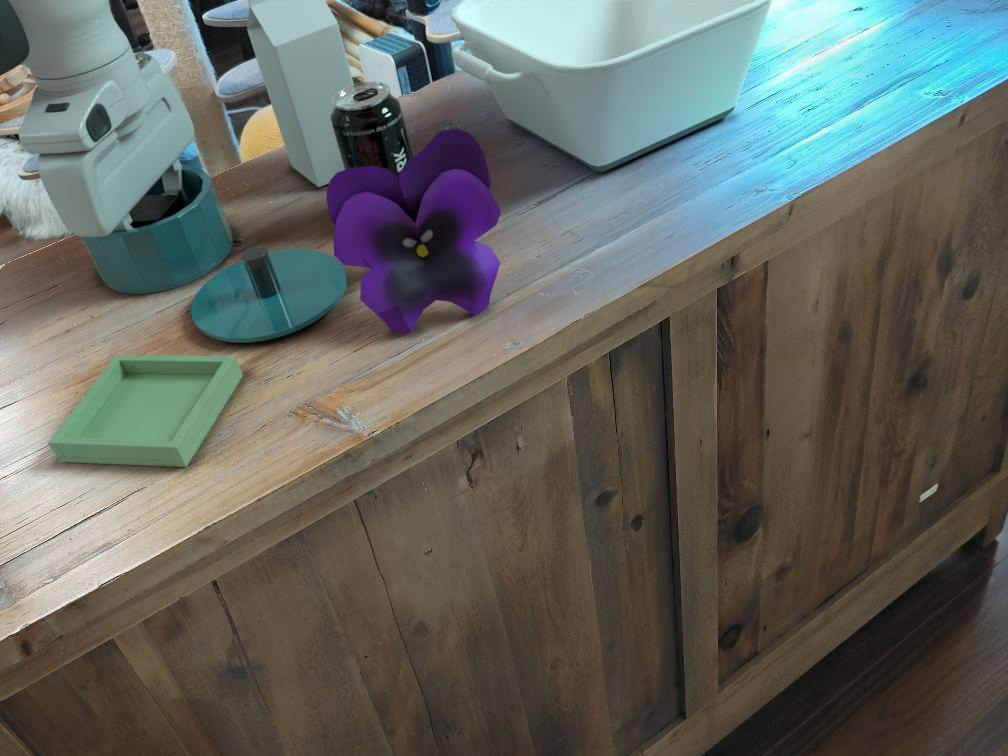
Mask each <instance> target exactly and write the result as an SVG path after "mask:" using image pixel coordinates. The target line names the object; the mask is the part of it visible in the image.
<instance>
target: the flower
mask: <svg viewBox="0 0 1008 756" xmlns="http://www.w3.org/2000/svg"><path fill="white" fill-rule="evenodd" d="M491 189H492V180H491V175H490V169H489V166H488V162H487V159H486V154H485V153H484V151H483V148H482V147H481V145H480V143H479V141H477V140H476V139H475V137H474V136H473V135H472V134H471V133H470V132H467V131H465V130H463V129H460V128H458V127H456V128H450V129H444V130H440V131H439V132H437V134H436V135H435V136H434V137H433V138H432V139H431V140H430V141H429V142H428V143H427V144H426V145H425V146H424V147H423V148H422V149H421V151H419V152H418V153H416V154H415V155H413V158H411V159H410V160H409V161H407V162H406V163H405V165H404V167H403V168H402V170H401V171H400V173H399V176H398V175H396V174H394V173H393V172H391V171H390V170H388V169H386V168H381V167H375V166H365V167H355V168H349V169H346V170H343V171H340V172H337V173H336V174H335V175H334V177H333V178H332V179H331V180H330V182H329V183H328V184H327V188H326V198H325V199H326V204H327V208H328V213H329V216H330V219H331V222H332V224H333V225H334V229H333V232H332V237H333V239H332V240H333V242H332V243H333V257H335V258H336V259H337V260H339V262H340V263H341V264H342V265H343V266H349V267H358V268H367V269H370V270H369V271H368V272H367V273H366V274H365V275H364V276H363V277H362V278H360V297H359V300H360V301H361V303H363V304H364V305H365V306H366V307H367V308H368V309H370V310H371V311H372V312H373V313H374V314H375V315H376V316H377V317H378V318H379V319H380V320H381V321H382V322H384V324H385V325H386V326H387V327H388V329H390V331H391V332H392V333H397V334H398V333H399V334H404V335H405V334H410V333H412V332H413V330H414V328H415V326H416V324H417V323H418V321H419V319H420V317H421V316H422V313H423V312H424V311H425V309H427V308H428V307H429V306H431V305H432V304H433V303H434V302H435V301H440V302H446V303H452V304H453V305H456V306H457V307H459V308H461V309H462V310H464V311H466V312H467V313H469V314H470V315H472V316H476V315H479V314H481V313H482V312H483V311H484V310H485V309H486V308H487V307H489V304H490V299H491V293H492V291H493V289H494V285H495V282H496V280H497V276H498V272H499V269H500V266H501V261H500V259H499V258H498V256H497V255H496V253H495V252H494V250H493V249H492V247H491V246H490V245H489V244H485V243H482V242H478V241H477V240H478V239H480V238H481V237H482V236H483V235H485V234H486V233H488V232H489V231H490V230H492V229H493V228H495V227H496V226H497V225H498V223H499V219H500V216H501V213H502V211H501V208H500V207H499V205H498V202H497V200H496V198H495V197H494V195H493V193H492V191H491Z"/></svg>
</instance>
